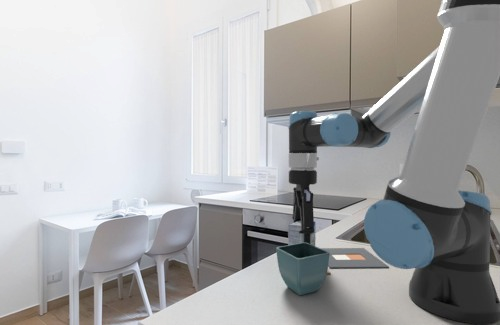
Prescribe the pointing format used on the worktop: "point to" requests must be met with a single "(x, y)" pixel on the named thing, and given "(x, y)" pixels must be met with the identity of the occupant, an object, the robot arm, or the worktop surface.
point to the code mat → (353, 258)
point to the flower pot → (302, 266)
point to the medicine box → (297, 233)
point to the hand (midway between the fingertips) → (302, 251)
